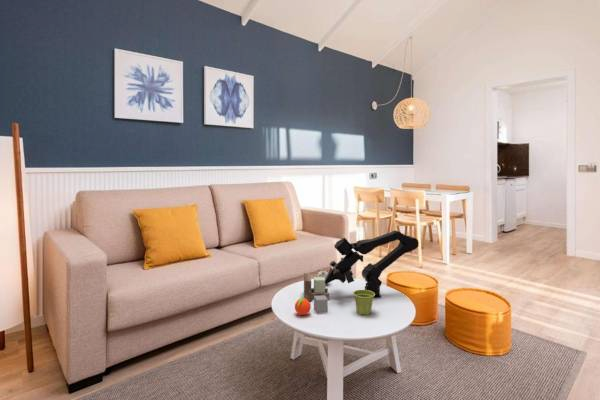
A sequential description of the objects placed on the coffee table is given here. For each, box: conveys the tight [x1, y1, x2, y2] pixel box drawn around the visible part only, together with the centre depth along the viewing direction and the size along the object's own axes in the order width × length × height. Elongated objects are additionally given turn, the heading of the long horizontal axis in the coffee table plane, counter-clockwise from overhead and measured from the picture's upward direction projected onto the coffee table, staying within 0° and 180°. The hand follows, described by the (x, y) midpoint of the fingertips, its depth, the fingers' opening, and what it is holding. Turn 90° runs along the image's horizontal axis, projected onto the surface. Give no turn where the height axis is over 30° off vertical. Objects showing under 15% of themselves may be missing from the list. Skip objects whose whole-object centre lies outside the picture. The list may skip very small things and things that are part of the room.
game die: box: [316, 269, 329, 287], centre depth 195 cm, size 9×8×10 cm
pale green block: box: [313, 276, 326, 293], centre depth 177 cm, size 5×5×9 cm
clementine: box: [294, 297, 312, 316], centre depth 156 cm, size 8×7×7 cm
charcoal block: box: [313, 295, 329, 314], centre depth 160 cm, size 5×5×6 cm
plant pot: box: [352, 289, 375, 316], centre depth 159 cm, size 9×9×9 cm
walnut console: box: [303, 272, 330, 303], centre depth 177 cm, size 12×12×10 cm
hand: (325, 283), depth 176 cm, fingers closed
